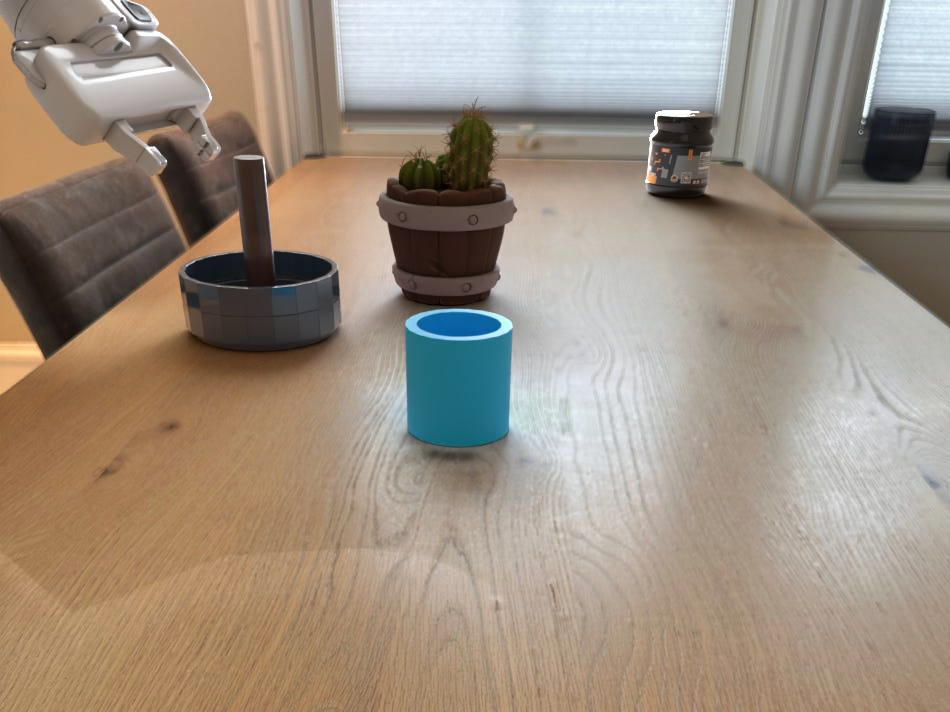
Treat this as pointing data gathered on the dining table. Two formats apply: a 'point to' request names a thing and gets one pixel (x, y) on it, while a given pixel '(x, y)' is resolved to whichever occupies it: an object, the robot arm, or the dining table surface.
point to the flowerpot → (449, 217)
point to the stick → (254, 220)
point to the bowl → (261, 301)
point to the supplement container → (680, 154)
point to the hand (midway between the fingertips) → (187, 163)
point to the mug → (458, 376)
